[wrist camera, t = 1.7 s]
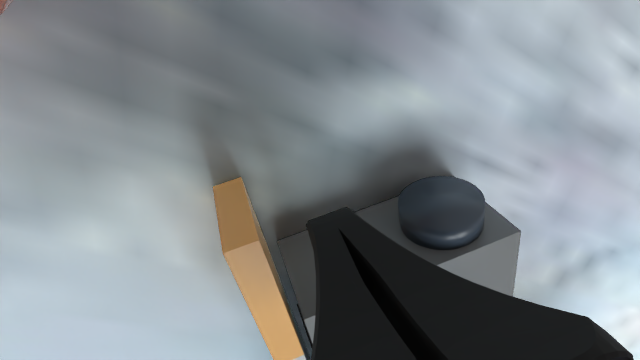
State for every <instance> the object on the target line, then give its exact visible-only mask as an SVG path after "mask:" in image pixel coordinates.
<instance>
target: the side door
mask: <svg viewBox="0 0 640 360" xmlns="http://www.w3.org/2000/svg"><path fill="white" fill-rule="evenodd" d="M213 192H214V199H215V205H216V212H217V218H218V225H219V232H220V238H221V245H222V251H223V255H224V257H225V259H226V261H227V263H228V265H229V267H230V270H231V272H232V274H233V276H234V278H235V280H236V282H237V284H238V286H239V288H240V290H241V293H242V295H243V297H244V299H245V301H246V303H247V305H248V307H249V309H250V311H251V313H252V316H253V318H254V320H255V322H256V324H257V326H258V328H259V330H260V332H261V334H262V336H263V339H264V341H265V343H266V345H267V347H268V349H269V351H270V353H271V355H272V357H273V359H274V360H311V359H310V356H309V354H308V351H307V348H306V346H305V343H304V341H303V338H302V335H301V333H300V330H299V327H298V325H297V322H296V320H295V317H294V314H293V312H292V309H291V306H290V304H289V301H288V298H287V296H286V293H285V291H284V288H283V285H282V283H281V280H280V277H279V275H278V272H277V270H276V267H275V264H274V262H273V259H272V256H271V254H270V251H269V249H268V246H267V243H266V241H265V238H264V235H263V233H262V230H261V228H260V225H259V222H258V220H257V217H256V214H255V212H254V209H253V206H252V204H251V201H250V199H249V196H248V193H247V191H246V188H245V185H244V183H243V180H242V178H241V177H239V178H236V179H234V180H231V181H228V182H225V183H222V184H219V185H216V186H213Z"/></svg>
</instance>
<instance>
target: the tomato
mask: <svg viewBox="0 0 640 360" xmlns="http://www.w3.org/2000/svg"><path fill="white" fill-rule="evenodd" d="M11 2H12V0H0V15H1V14H2V13H3V12H4V11H5V9H6V8H7V7H8V6H9V4H10V3H11Z"/></svg>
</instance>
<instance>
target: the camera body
mask: <svg viewBox="0 0 640 360" xmlns="http://www.w3.org/2000/svg"><path fill="white" fill-rule="evenodd" d="M355 213H356V214H357V215H358V216H360V217H361V218H362V219H364V220H365V221H366V222H367V223H369V224H370V225H372V226H373V227H374V228H376V229H377V230H379V231H380V232H381V233H383V234H384V235H386V236H387V237H389V238H390V239H392V240H394V241H395V242H397V243H398V244H400V245H401V246H403V247H405V248H406V249H408V250H409V251H411V252H413V253H415V254H416V255H418V256H420V257H422V258H423V259H425V260H427V261H429V262H431V263H433V264H435V265H437V266H439V267H441V268H443V269H445V270H447V271H449V272H451V273H453V274H455V275H458V276H460V277H462V278H465V279H467V280H469V281H472V282H474V283H477V284H479V285H482V286H485V287H487V288H490V289H493V290H495V291H498V292H501V293H503V294H506V295H509V296H512V297H513V290H514V282H515V274H516V266H517V259H518V251H519V243H520V235H521V231H520V230H519V229H518V228H517V227H515V226H514V225H513V224H512V223H510V222H509V221H508V220H507V219H506V218H504V217H503V216H502V215H501V214H499V213H498V212H497V211H496V210H495V209H493V208H492V207H491V206H490V205H488V204H487V203H486V202H485V198H484V196H483V194H482V192H481V191H480V190H479V189H478V188H477V187H476V186H475V185H473V184H471V183H470V182H467V181H465V180H462V179H459V178H455V177H454V176H451V177H446V176H437V177H428V178H424V179H421V180H418V181H416V182H413V183H412V184H410V185H408V186H407V187H406V188H405V189H404V190H403V191H402V192H401V194H400V196H397V197H394V198H392V199H389V200H386V201H384V202H381V203H378V204H376V205H373V206H370V207H368V208H365V209H362V210H359V211H357V212H355ZM277 243H278V246H279V249H280V252H281V254H282V257H283V260H284V263H285V266H286V269H287V272H288V275H289V278H290V281H291V284H292V286H293V289H294V292H295V295H296V298H297V301H298V304H297V306H298V309H299V312H300V315H301V318H302V321H303V324H304V327H305V330H306V333H307V336H308V339H309V342H310V345H311V348H312V347H313V338H314V328H315V313H316V271H315V260H314V251H313V247H312V244H311V241H310V237H309V234H308V230H306V231H303V232H300V233H298V234H295V235H292V236H289V237H287V238H284V239H281V240H279V241H277Z"/></svg>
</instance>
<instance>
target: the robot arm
mask: <svg viewBox="0 0 640 360" xmlns="http://www.w3.org/2000/svg"><path fill="white" fill-rule="evenodd" d="M306 227H307V230H308V234H309V237H310V241H311V244H312V247H313V251H314V260H315V271H316V313H315V328H314V338H313V347H312V355H311V360H634V359H633V355H632V354H631V353H630V352H629V351H628V350H626V349H625V348H624V347H623V346H622V345H621V344H620V343H619V342H617V341H616V340H615V339H614V338H613V337H612V336H611V335H610V334H609V333H608V332H606V331H605V330H604V329H602V328H601V327H600V326H599V325H597V324H596V323H595V322H593V321H592V320H591V319H590V318H588V317H585V316H581V315H577V314H573V313H570V312H566V311H562V310H558V309H554V308H550V307H546V306H542V305H538V304H535V303H532V302H528V301H525V300H522V299H519V298H515V297H512V296H509V295H506V294H503V293H501V292H498V291H495V290H493V289H490V288H487V287H485V286H482V285H479V284H477V283H474V282H472V281H469V280H467V279H465V278H462V277H460V276H458V275H455V274H453V273H451V272H449V271H447V270H445V269H443V268H441V267H439V266H437V265H435V264H433V263H431V262H429V261H427V260H425V259H423V258H422V257H420V256H418V255H416V254H415V253H413V252H411V251H409V250H408V249H406V248H405V247H403V246H401V245H400V244H398V243H397V242H395V241H394V240H392V239H390V238H389V237H387V236H386V235H384V234H383V233H381V232H380V231H379V230H377V229H376V228H374V227H373V226H372V225H370V224H369V223H367V222H366V221H365V220H364V219H362V218H361V217H360V216H358V215H357V214H356V213H355V212H353V211H352V210H351V209H349V208H347V207H345V208H342V209H339V210H337V211H334V212H331V213H328V214H326V215H323V216H320V217H318V218H315V219H312V220H309V221H308V223H307V224H306Z"/></svg>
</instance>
